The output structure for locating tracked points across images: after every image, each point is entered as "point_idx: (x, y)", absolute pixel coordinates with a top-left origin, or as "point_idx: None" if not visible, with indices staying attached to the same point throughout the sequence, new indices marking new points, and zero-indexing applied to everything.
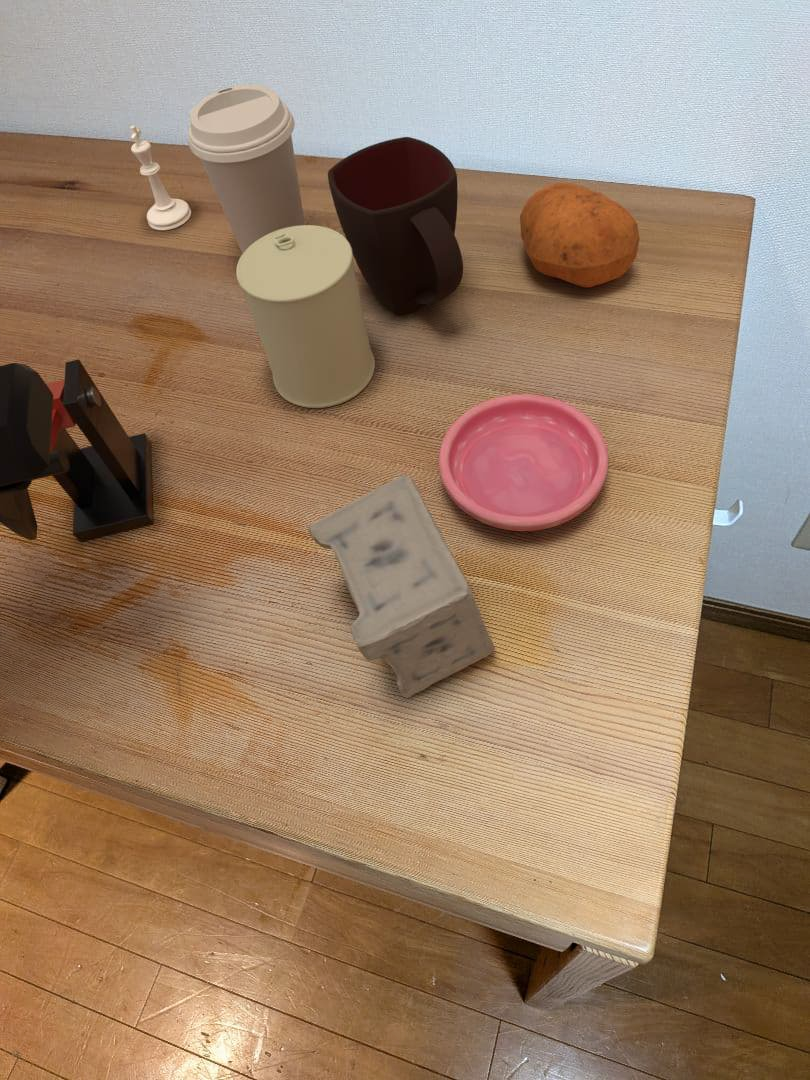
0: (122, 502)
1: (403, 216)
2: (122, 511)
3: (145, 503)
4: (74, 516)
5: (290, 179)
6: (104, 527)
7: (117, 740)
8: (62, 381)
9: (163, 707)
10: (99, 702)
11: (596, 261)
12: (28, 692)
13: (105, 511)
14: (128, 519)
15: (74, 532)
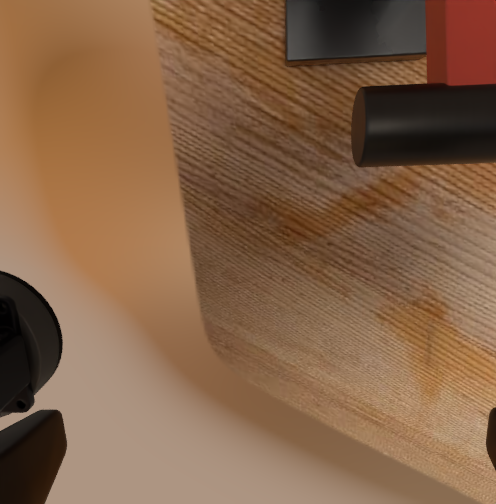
0: (384, 5)
1: None
2: (383, 30)
3: None
4: (288, 17)
5: None
6: (343, 58)
7: (344, 399)
8: None
9: (404, 374)
10: (322, 349)
11: None
12: (226, 313)
13: (349, 20)
14: (393, 54)
15: (290, 59)
